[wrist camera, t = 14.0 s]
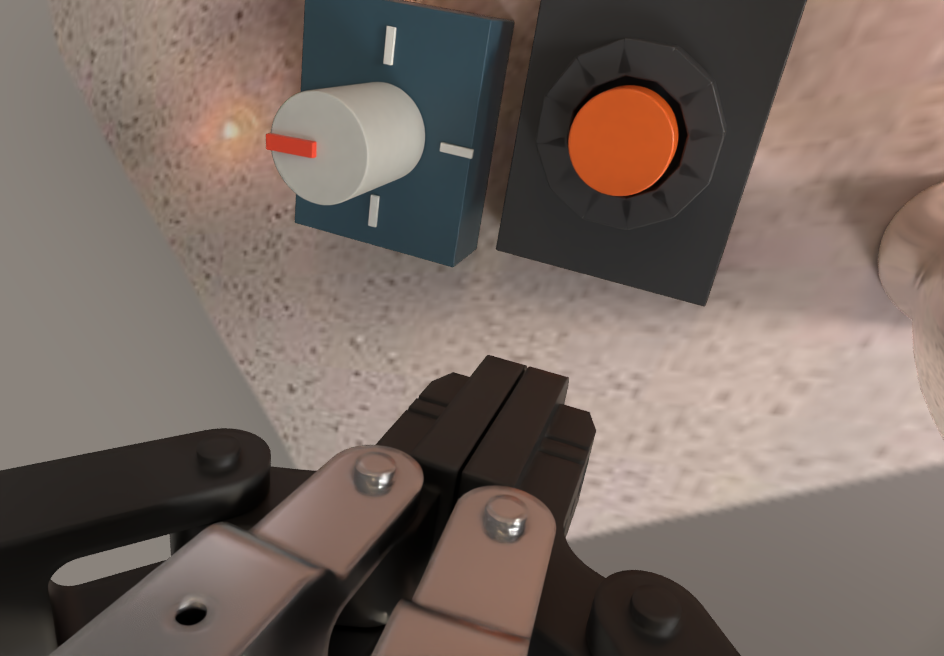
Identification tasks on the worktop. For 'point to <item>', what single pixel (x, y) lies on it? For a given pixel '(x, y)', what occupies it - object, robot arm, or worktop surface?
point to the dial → (345, 140)
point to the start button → (623, 140)
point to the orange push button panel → (699, 126)
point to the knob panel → (440, 104)
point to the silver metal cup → (920, 286)
